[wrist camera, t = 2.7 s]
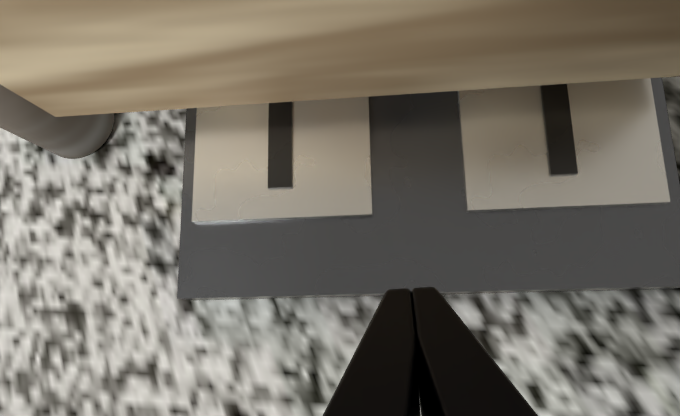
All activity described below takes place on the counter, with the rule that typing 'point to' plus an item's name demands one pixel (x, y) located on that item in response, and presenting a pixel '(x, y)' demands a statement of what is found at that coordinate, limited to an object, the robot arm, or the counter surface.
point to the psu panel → (432, 194)
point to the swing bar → (302, 54)
